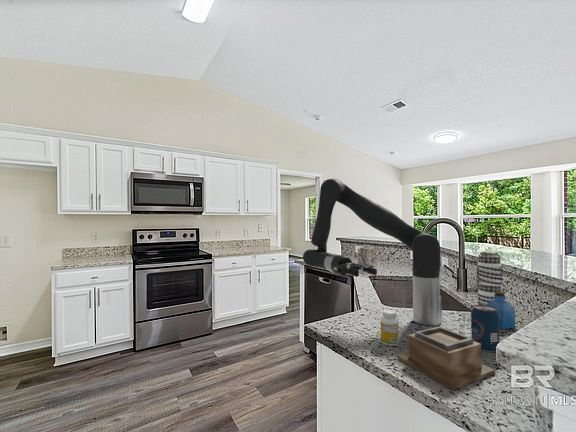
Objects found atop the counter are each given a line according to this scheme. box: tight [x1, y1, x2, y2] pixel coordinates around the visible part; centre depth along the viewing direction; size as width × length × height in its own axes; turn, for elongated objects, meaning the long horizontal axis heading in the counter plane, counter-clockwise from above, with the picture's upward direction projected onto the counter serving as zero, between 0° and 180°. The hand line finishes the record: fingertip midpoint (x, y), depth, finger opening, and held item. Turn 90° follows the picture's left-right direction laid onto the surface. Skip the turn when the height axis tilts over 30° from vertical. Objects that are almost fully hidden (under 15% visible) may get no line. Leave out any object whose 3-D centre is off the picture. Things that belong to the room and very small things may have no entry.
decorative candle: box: [476, 250, 504, 306], centre depth 118 cm, size 9×9×25 cm
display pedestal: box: [397, 325, 496, 391], centre depth 74 cm, size 16×16×8 cm
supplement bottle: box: [380, 309, 400, 347], centre depth 89 cm, size 5×5×10 cm
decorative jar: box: [357, 244, 378, 267], centre depth 239 cm, size 12×12×18 cm
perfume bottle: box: [487, 290, 516, 330], centre depth 103 cm, size 6×6×12 cm
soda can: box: [470, 304, 501, 353], centre depth 85 cm, size 7×7×12 cm
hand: (367, 272), depth 99 cm, fingers open, 8 cm apart
